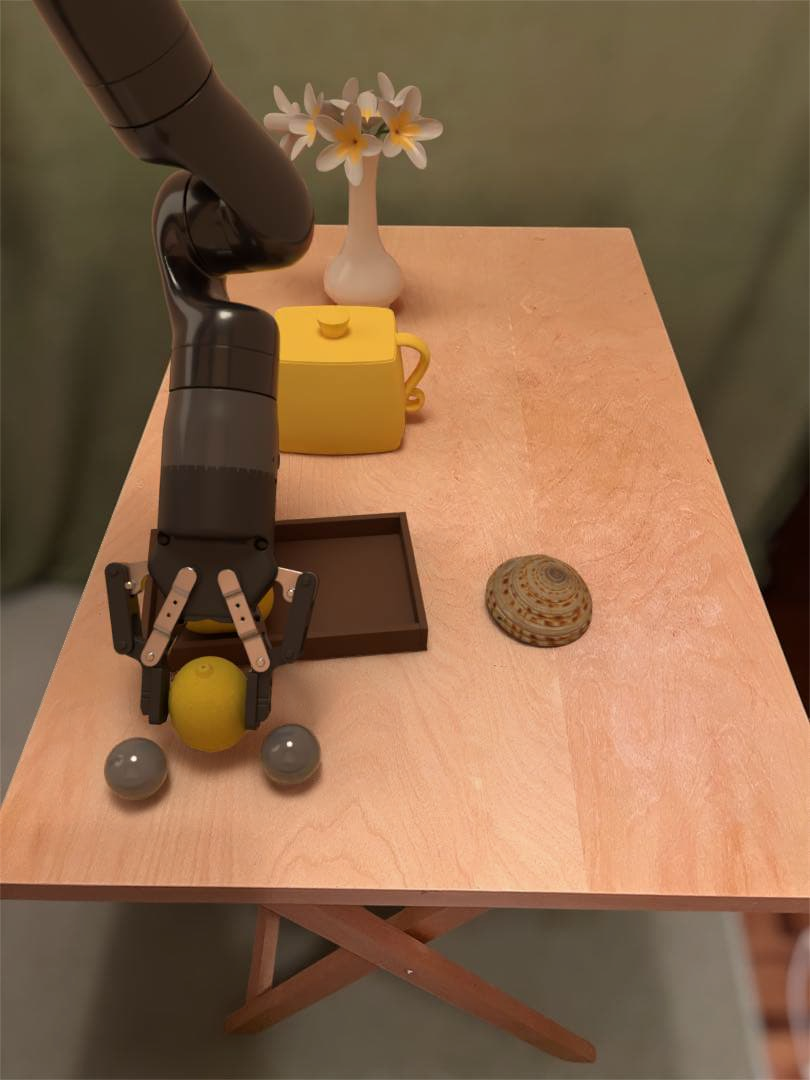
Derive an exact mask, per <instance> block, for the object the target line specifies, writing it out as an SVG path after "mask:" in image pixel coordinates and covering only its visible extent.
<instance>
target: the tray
mask: <svg viewBox="0 0 810 1080" xmlns="http://www.w3.org/2000/svg"><path fill="white" fill-rule="evenodd" d="M156 542H157V528H151V529H150V533H149V542H148V550H147V551H148V552H147V559H146V561H148V559H149V557H150V555H151V554H152V552H153V551H154V549H155V546H156ZM274 552H275V555H276V558H277V560H278V562H279V564H280V567H283V568H287V569H291V570H295V571H300V572H313V573H315V574H317V575H318V577H319V580H320V582H319V587H318V591H317V595H316V599H315V604H314V608H313V612H312V616H311V621H310V625H309V629H308V633H307V638H306V642H305V646H304V650H303V654H302V656H301V657H300V658H299V659H298V660H296V661H295V662H304V661H305V662H306V661H314V660H315V661H316V660H325V659H326V660H329V659H339V658H341V659H342V658H351V657H352V658H353V657H363V656H375V655H386V654H387V655H388V654H397V653H398V654H399V653H409V652H410V653H411V652H422V651H427V650H428V640H429V626H428V619H427V614H426V609H425V605H424V598H423V594H422V589H421V584H420V579H419V574H418V568H417V563H416V558H415V553H414V548H413V542H412V537H411V531H410V526H409V521H408V516H407V511H398V512H397V511H396V512H395V511H394V512H382V513H381V512H380V513H379V512H378V513H368V514H367V513H366V514H352V515H350V514H349V515H336V516H335V515H334V516H322V517H320V516H319V517H308V518H295V519H294V518H293V519H292V518H291V519H277V520H276V519H275V532H274ZM272 587H273V593H274V601H273V606H272V609H271V611H270V613H269V615H268V616H267V618H266V619H265V620H264V623H265V625H266V630H267V635H268V637H269V640H270V643H271V645H272V648H274V647H277V646H281V645H282V641H283V636H284V632H285V628H286V624H287V620H288V615H289V611H290V607H291V602H288V601H286V600H285V599H284V597H283V587H282V585H281V584H280V583H279V582H278V581H276V583H275V584H274V585H273V586H272ZM142 598H143V599H142V607H141V614H140V617H141V625H142V634H143V638H145V639H147V640H148V639H149V637H150V635H151V633H152V631H153V626H154V623H155V621H156V619H157V617H158V615H159V613H160V611H161V609H162V607H163V605H164V603H165V601H166V599H165V598H164V596H163V595H162V593H161V592H160V590H159V588H158V587H157V585H156V584H155V582H154V581H153V579H152V578H151V576H149V577H148V578H147V579H146V581H145V588H144V590H143V597H142ZM207 656H213V657H220V658H223V659H226V660H228V661H230V662H232V663H233V664H234V665H236V666H237V667H245V666H252V665H251V663H250V660H249V657H248V654H247V652H246V649H245V646H244V644H243V642H242V640H241V639H240V637H239V635H238V632H228V633H215V634H201V633H196V632H193V631H191V630H189V629H187V628H186V627H185V629H184V631H183V632H182V633H181V634H180V636H179V638H178V640H177V642H176V644H175V646H174V648H173V650H172V652H171V654H170V656H169V658H168V659H167V665H171V673H173V672H179V670H180V669H181V668H182V667H183V666H185V665H186V664H187V663H189V662H191V661H192V660H195V659H198V658H201V657H207Z"/></svg>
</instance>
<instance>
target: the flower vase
mask: <svg viewBox="0 0 810 1080" xmlns="http://www.w3.org/2000/svg"><path fill="white" fill-rule="evenodd" d="M377 84H378V87H379V91H380V96H381V97H379V96H376V95H375V94H376V91H375V89H369V90H367V91H363V92H360V94H359V81H358V78H357V77H355V76H354V77H350V78H349V79H348V80H347V82H346V83H345V85H344V87H343V89H342V93H341V99H337V98H336V99H328V100H324V99H325V97H324V95H325V94H324V92H323V91H321V92H319V94H318V96H317V98H316V95H315V92H314V88H313V86H312V84H311V83H310V82H308V83H306V85H305V88H304V93H303V106H304V109H305V111H306V113H307V114H305V113H301V107H300V105H299V103H298V102H297V101H294V102H293V103H292V104H291V102H290V101H289V99H288V98H287V96H286V95H285V93H284V92H283V90H282V89H281V87H279V85H278V84H275V85H274V86H273V97H274V101H275V104H276V106H277V108H278V109H279V111H280V112H270V113H267V114H266V115H265V116H264V117H263V127H264V128H265V130H266V131H267V132H269V133H272V134H274V135H284V136H282V138H281V139H280V141H279V144H278V145H279V146H280V147H281V148H282V149H283V150H284V152H285V153H286V154H287V155H288V157H289V158H290V159H291V160H292V162H293V161H295V160H296V159H297V158H298V157H299V156H300V155H302V154H303V151H304V150H306V149H307V147H308V148H312V147H313V145H314V143H315V142H316V140H317V139H319V138H320V137H322V138H324V139H325V140H326V141H328V142H331V143H332V144H329V145H328V146H326V147H325V148H324V149H323V150H322V151H321V152H320V153H319V154H318V156H317V158H316V160H315V167H316V169H317V171H319V172H322V173H324V172H325V173H326V172H331V171H332V170H335V169H336V168H338V167H339V166H341V165H342V164H343V163H344V167H343V168H344V173H345V176H346V178H347V180H348V181H347V182H348V217H347V229H346V235H345V238H344V242H343V245H342V247H341V249H340V250H339V252H337V253H336V255H334V257H332V259H330V261H329V262H328V264H327V265H326V267H325V270H324V274H323V277H322V278H323V279H322V285H323V289H324V291H325V293H326V295H327V296H328V297H329V298H330V300H332V302H333V303H335V304H336V306H366V307H380V308H387V309H390V307H391V304H392V303H394V302H395V301H396V300H397V299H398V297H399V296H400V294H401V293H402V291H403V289H404V284H405V279H404V275H403V272H402V269H401V266H400V264H399V263H398V261H396V259H395V258H394V257H393V256H392V255H390V253H388V252H387V250H386V248H385V246H384V244H383V242H382V240H381V239H382V238H381V236H380V230H379V224H378V222H379V221H378V208H377V207H378V206H377V178H378V177H377V176H378V169H379V168H378V167H379V162H380V155H381V153H382V154H383V155H384V156H385V157H386V158H391V159H392V158H395V157H396V156H398V155H399V154H400V153H401V152H402V151H404V152H405V154H406V155H407V157H408V158H409V159H410V162H411V163H412V164H413V165H414V166H415V167H416V168H417V169H419V170H424V169H427V166H428V158H427V153H426V151H425V148H424V146H423V145H422V144H421V142H423V141H424V142H425V141H431V140H434V139H437V138H438V137H440V136H441V135H442V134H443V131H444V126H443V124H442V123H441V122H440V121H439V120H437V119H436V118H435V119H434V118H428V117H423V116H422V115H420V112H421V108H422V93H421V91H420V89H419V87H416V86H415V85H407V86H406V87H404V88H402V89H401V90H400V91H399V92H398V93H397V95H396V96H395V94H396V93H395V88H394V85H393V84H392V81H391V80H390V79H389V77H388V76H387V75H386V74H385V73H384V72H382V71H379V72H378V73H377ZM382 121H383V122H382ZM381 122H382V124H381V125H380V126H379V127H378V129H377V130H376V133H375V134H374V135H372V134H371V133H370V132H371V129H372V128H373V127H375V126H376V125H378V124H379V123H381ZM387 127H388V129H386V128H387ZM363 129H364V131H363ZM384 134H386V136H385V138H384V140H382V139H381V135H384Z"/></svg>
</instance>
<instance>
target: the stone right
mask: <svg viewBox="0 0 810 1080" xmlns="http://www.w3.org/2000/svg"><path fill="white" fill-rule="evenodd" d="M321 756H322V750H321V745H320V741H319V740H318V737H317V735H316V734H315V733H314V732H313V730H311V729H310V728H308V727H307V726H305V725H304V724H300V723H298V722H297V723H296V722H287V723H283V724H280V725H279V724H278V725H277V726H276V727H274V728H272V729H271V730H270V731H269V732H268V733H267V735H266V736H265V737H264V739H263V741H262V744H261V745H260V750H259V759H260V764H261V766H262V769H263V771H264V772H265V774H266V775H267V776H268V777H269V778H270V779H271V780H272V781H274V782H276V783H278V784H281V785H284V786H293V785H298V784H302V783H304V782H305V781H307V780H309V778H311V777H312V776H313V775H314V774H315V772H316V771H317V769H318V768H319V766H320V762H321V758H322V757H321Z"/></svg>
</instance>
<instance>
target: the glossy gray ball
mask: <svg viewBox="0 0 810 1080" xmlns="http://www.w3.org/2000/svg"><path fill="white" fill-rule="evenodd" d="M168 770H169V762H168V758H167V755H166V753H165V751H164V749H163V748H162V747H161V746H160V745H159V744H158V743H157V742H155V741H154V740H152V739H150V738H147V737H142V736H133V737H129V738H126V739H123V740H121V741H119V742H118V743H117V744H116V745H115V746H114V747H113V748H112V749H111V750H110V751H109V753H108V754H107V756H106V758H105V761H104V766H103V778H104V781H105V783H106V786H107V787H108V789H109V790H110V791H111V792H112V793H113V794H114V795H116V796H117V797H118V798H121V799H124V800H127V801H141V800H145V799H147V798H149V797H151V796H153V795H154V794H155V793H156V792H158V791H159V790H160V788H162V786H163V784H164V783H165V781H166V778H167V775H168Z"/></svg>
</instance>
